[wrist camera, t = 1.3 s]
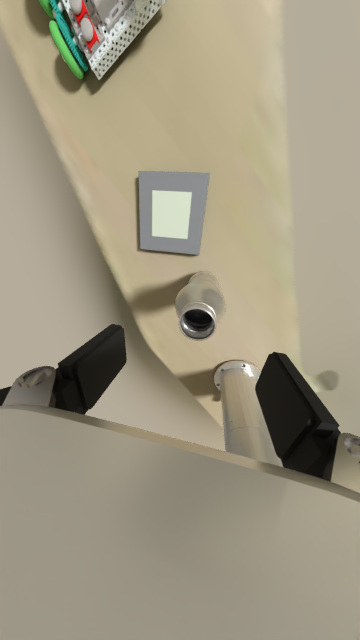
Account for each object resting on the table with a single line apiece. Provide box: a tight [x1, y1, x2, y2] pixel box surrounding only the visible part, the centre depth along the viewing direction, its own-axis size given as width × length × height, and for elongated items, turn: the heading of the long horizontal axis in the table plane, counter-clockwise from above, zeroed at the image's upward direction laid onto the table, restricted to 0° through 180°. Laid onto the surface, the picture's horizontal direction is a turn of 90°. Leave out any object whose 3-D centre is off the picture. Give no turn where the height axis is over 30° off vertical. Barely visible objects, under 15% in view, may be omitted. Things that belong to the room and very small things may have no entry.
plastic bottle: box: [175, 271, 226, 341], centre depth 23 cm, size 6×7×20 cm
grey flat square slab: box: [139, 171, 209, 255], centre depth 27 cm, size 12×12×2 cm
